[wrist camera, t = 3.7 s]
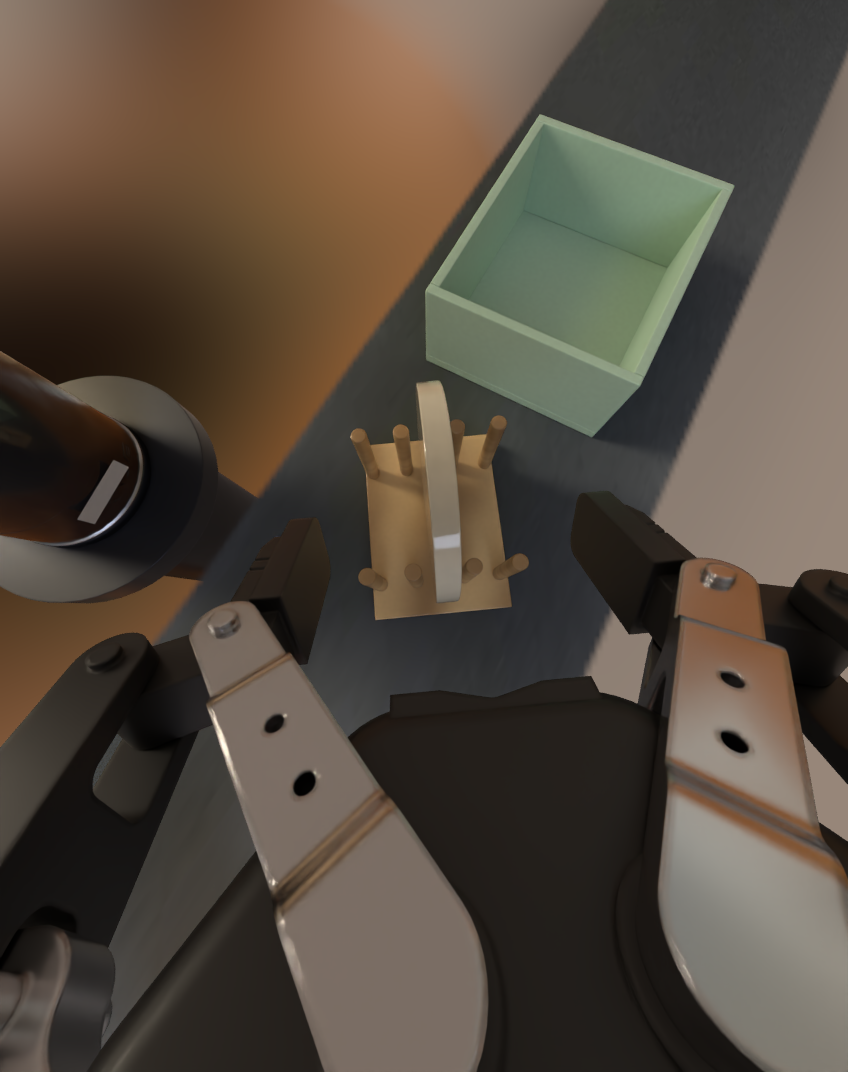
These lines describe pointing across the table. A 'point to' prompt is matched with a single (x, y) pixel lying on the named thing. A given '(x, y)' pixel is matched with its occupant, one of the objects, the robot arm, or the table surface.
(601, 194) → the light green open box
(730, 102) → the table surface
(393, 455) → the dish rack
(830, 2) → the table surface
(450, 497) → the plate
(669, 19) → the table surface
